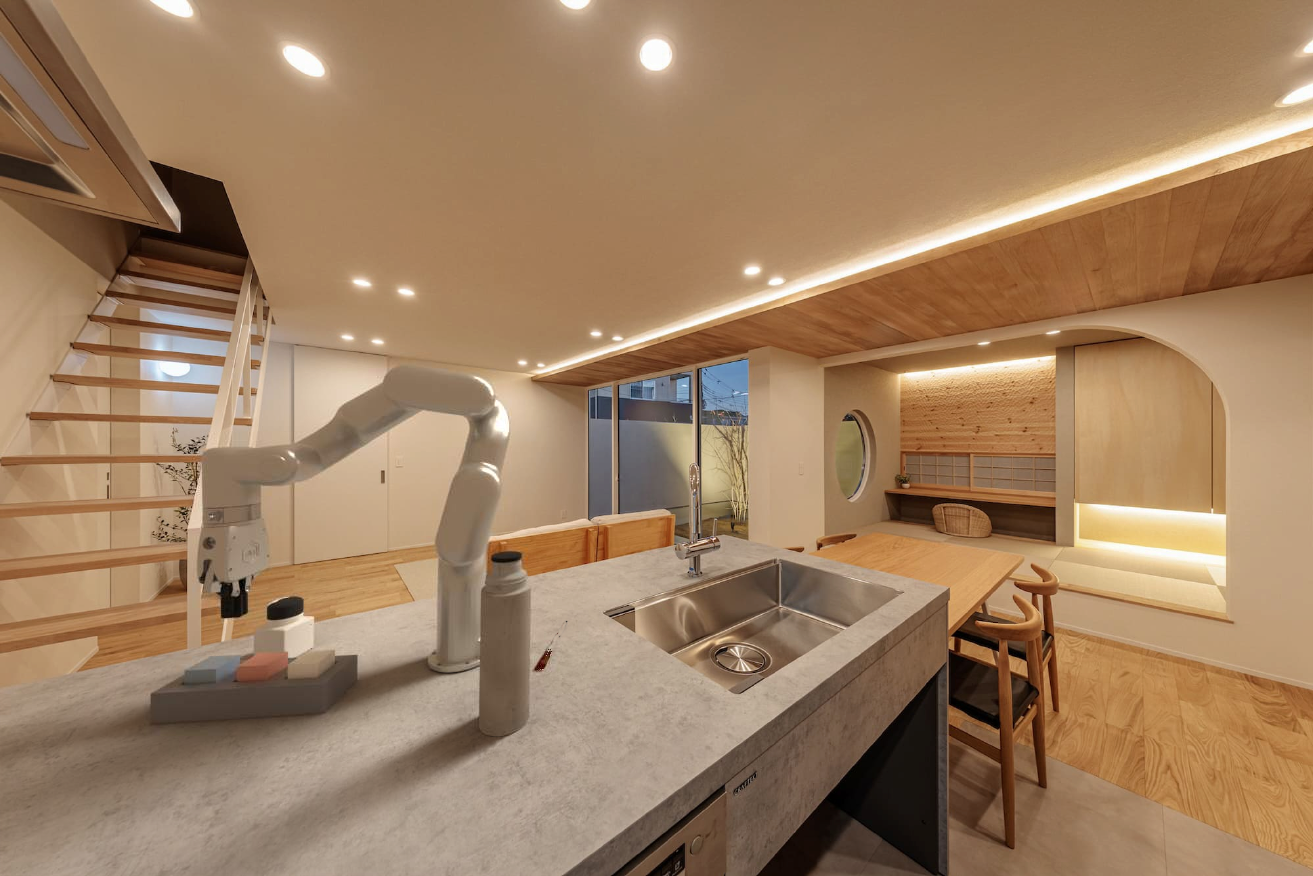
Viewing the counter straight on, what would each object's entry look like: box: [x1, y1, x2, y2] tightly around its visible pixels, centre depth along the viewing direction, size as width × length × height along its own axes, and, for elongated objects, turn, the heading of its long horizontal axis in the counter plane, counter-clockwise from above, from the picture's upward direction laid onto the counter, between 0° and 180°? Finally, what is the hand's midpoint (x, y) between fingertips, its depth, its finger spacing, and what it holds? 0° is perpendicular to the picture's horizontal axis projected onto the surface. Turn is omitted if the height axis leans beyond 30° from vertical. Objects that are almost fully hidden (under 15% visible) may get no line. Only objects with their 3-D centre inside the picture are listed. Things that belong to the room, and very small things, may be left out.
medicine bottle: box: [253, 595, 315, 658], centre depth 92 cm, size 7×7×12 cm
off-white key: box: [288, 649, 336, 679], centre depth 77 cm, size 5×5×4 cm
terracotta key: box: [237, 652, 288, 682], centre depth 76 cm, size 5×5×4 cm
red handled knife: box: [533, 649, 552, 671], centre depth 99 cm, size 2×24×1 cm, turn 179°
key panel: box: [149, 654, 359, 725], centre depth 76 cm, size 26×10×5 cm, turn 97°
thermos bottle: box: [478, 550, 532, 737], centre depth 71 cm, size 8×8×28 cm
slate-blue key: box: [184, 654, 241, 685], centre depth 75 cm, size 5×5×4 cm
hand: (234, 616), depth 77 cm, fingers closed
